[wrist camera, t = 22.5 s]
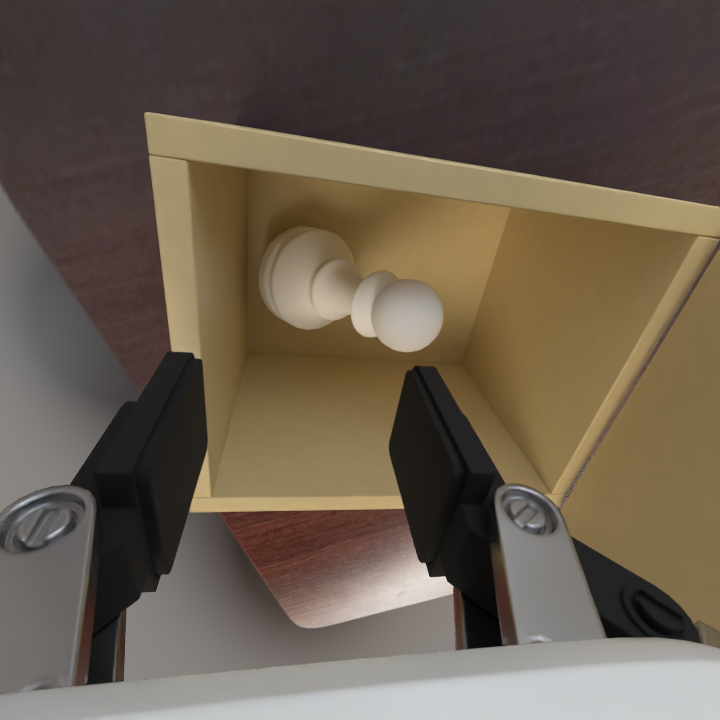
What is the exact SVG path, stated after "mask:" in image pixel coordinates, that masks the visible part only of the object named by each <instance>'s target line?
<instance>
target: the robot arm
mask: <svg viewBox="0 0 720 720" xmlns="http://www.w3.org/2000/svg"><path fill="white" fill-rule="evenodd" d="M207 446H208V434H207V419H206V405H205V391H204V377H203V364H202V359H197V358H195V357H194V354H193V353H191V352H173V351H168V352H167V354H166V355H165V357H164V358H163V360H162V362H161V363H160V365H159V367H158V368H157V370H156V371H155V373H154V375H153V376H152V378H151V380H150V381H149V383H148V384H147V386H146V388H145V389H144V391H143V393H142V394H141V396H140V397H139V399H138V401H137V402H132V401H128V402H126V403H124V404H123V406H122V407H121V408H120V410H119V411H118V413H117V414H116V416H115V417H114V419H113V420H112V422H111V424H110V425H109V426H108V428H107V429H106V431H105V432H104V434H103V435H102V437H101V438H100V440H99V441H98V443H97V444H96V446H95V447H94V449H93V450H92V452H91V453H90V455H89V457H88V458H87V460H86V461H85V463H84V464H83V466H82V467H81V469H80V470H79V472H78V473H77V475H76V476H75V478H74V479H73V481H72V482H71V484H70V485H63V486H52V487H48V488H45V489H41V490H38V491H35V492H33V493H30V494H28V495H26V496H24V497H22V498H20V499H18V500H17V501H15V502H14V503H12V504H11V505H9V506H8V507H6V508H5V509H4V510H2V512H1V513H0V720H720V631H718V630H716V629H714V628H712V627H711V626H709V625H707V624H705V623H703V622H701V621H700V620H698V621H697V622H696V623H695V624H693V622H692V620H691V619H690V617H689V616H688V615H687V614H686V612H685V611H684V610H683V609H682V607H681V606H680V605H679V604H678V603H677V602H675V601H674V600H673V599H672V598H671V597H670V596H669V595H668V594H666V593H665V592H663V591H662V590H661V589H659V588H658V587H656V586H655V585H653V584H651V583H650V582H648V581H646V580H645V579H643V578H641V577H640V576H638V575H636V574H634V573H633V572H631V571H629V570H628V569H626V568H624V567H623V566H621V565H619V564H617V563H616V562H614V561H612V560H611V559H609V558H607V557H606V556H604V555H602V554H600V553H599V552H597V551H595V550H594V549H592V548H590V547H589V546H587V545H585V544H584V543H582V542H580V541H578V540H577V539H575V538H573V537H572V536H571V535H570V533H569V530H568V527H567V524H566V521H565V519H564V517H563V515H562V513H561V511H560V509H559V508H558V507H557V506H556V505H555V504H554V502H553V501H552V500H550V499H549V498H548V497H547V496H545V495H544V494H543V493H541V492H539V491H537V490H536V489H534V488H532V487H529V486H526V485H523V484H516V483H510V484H506V483H505V482H504V480H503V478H502V476H501V475H500V473H499V471H498V470H497V468H496V466H495V465H494V463H493V461H492V459H491V458H490V456H489V454H488V453H487V451H486V449H485V448H484V446H483V444H482V442H481V441H480V439H479V437H478V436H477V434H476V432H475V430H474V429H473V427H472V425H471V424H470V422H469V420H468V419H467V417H466V416H465V415H464V414H463V413H462V412H461V410H460V408H459V406H458V405H457V403H456V401H455V400H454V398H453V396H452V394H451V393H450V391H449V389H448V387H447V386H446V384H445V382H444V381H443V379H442V377H441V375H440V374H439V372H438V370H437V369H436V367H434V366H417V365H415V366H414V367H413V369H412V370H408V371H407V372H406V374H405V378H404V383H403V387H402V391H401V395H400V399H399V403H398V407H397V412H396V416H395V420H394V424H393V428H392V432H391V436H390V441H389V455H390V459H391V462H392V466H393V470H394V473H395V477H396V480H397V484H398V488H399V491H400V495H401V498H402V502H403V506H404V509H405V513H406V517H407V520H408V524H409V527H410V531H411V535H412V538H413V542H414V546H415V549H416V553H417V556H418V559H419V561H420V562H421V563H426V566H427V569H428V573H429V576H430V577H441V576H446V579H447V581H448V582H449V583H450V584H451V585H453V586H454V587H453V595H454V620H455V645H456V650H453V651H442V652H430V653H419V654H408V655H397V656H386V657H375V658H365V659H355V660H354V659H353V660H342V661H332V662H321V663H310V664H300V665H289V666H278V667H268V668H257V669H246V670H235V671H225V672H215V673H205V674H194V675H184V676H174V677H164V678H154V679H144V680H133V681H124V657H125V631H126V608H127V607H129V606H130V605H132V604H133V603H134V602H136V601H137V600H138V599H139V598H140V595H141V593H142V592H156V589H157V586H158V583H159V580H160V576H161V575H163V574H169V573H170V571H171V569H172V566H173V563H174V559H175V556H176V552H177V549H178V546H179V543H180V539H181V536H182V533H183V529H184V526H185V523H186V519H187V516H188V512H189V509H190V506H191V502H192V499H193V496H194V492H195V489H196V486H197V482H198V479H199V475H200V472H201V469H202V465H203V462H204V459H205V455H206V452H207Z"/></svg>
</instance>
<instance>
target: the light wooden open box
mask: <svg viewBox="0 0 720 720" xmlns="http://www.w3.org/2000/svg"><path fill="white" fill-rule="evenodd" d="M144 117H145V125H146V134H147V143H148V151H149V154H151V155H150V156H149V161H150V170H151V178H152V187H153V195H154V204H155V213H156V221H157V230H158V239H159V247H160V256H161V265H162V273H163V282H164V291H165V299H166V308H167V317H168V325H169V334H170V343H171V351H173V352H191V353H193V354H194V357H195V358H197V359H202V364H203V377H204V391H205V405H206V419H207V434H208V446H207V452H206V455H205V459H204V462H203V465H202V469H201V472H200V475H199V479H198V482H197V486H196V489H195V492H194V496H193V499H192V502H191V506H190V512H235V511H294V510H354V509H404V506H403V502H402V498H401V495H400V491H399V488H398V484H397V480H396V477H395V473H394V470H393V466H392V462H391V459H390V455H389V441H390V436H391V432H392V428H393V424H394V420H395V416H396V412H397V407H398V403H399V399H400V395H401V391H402V387H403V383H404V378H405V374H406V372H407V371H408V370H412V369H413V367H414V366H415V365H417V366H434V367H436V369H437V370H438V372H439V374H440V375H441V377H442V379H443V381H444V382H445V384H446V386H447V387H448V389H449V391H450V393H451V394H452V396H453V398H454V400H455V401H456V403H457V405H458V406H459V408H460V410H461V412H462V413H463V414H464V415H465V416H466V417H467V419H468V420H469V422H470V424H471V425H472V427H473V429H474V430H475V432H476V434H477V436H478V437H479V439H480V441H481V442H482V444H483V446H484V448H485V449H486V451H487V453H488V454H489V456H490V458H491V459H492V461H493V463H494V465H495V466H496V468H497V470H498V471H499V473H500V475H501V476H502V478H503V480H504V482H505V483H506V484H510V483H516V484H523V485H526V486H529V487H532V488H534V489H536V490H537V491H539V492H541V493H543V494H544V495H545V496H547V497H548V498H549V499H550V500H552V501H553V502H554V504H555V505H556V506H560V505H561V503H562V502H563V500H564V498H565V497H566V495H567V494H566V493H568V491H569V490H570V488H571V486H572V485H573V483H574V481H575V480H576V478H577V476H578V475H579V473H580V471H581V470H582V468H583V466H584V465H585V463H586V461H587V460H588V458H589V456H590V455H591V453H592V451H593V450H594V448H595V446H596V445H597V443H598V441H599V440H600V438H601V436H602V435H603V433H604V431H605V430H606V428H607V426H608V425H609V423H610V422H611V420H612V418H613V417H614V415H615V413H616V412H617V410H618V408H619V407H620V405H621V403H622V402H623V400H624V398H625V397H626V395H627V393H628V392H629V390H630V388H631V387H632V385H633V383H634V382H635V380H636V378H637V377H638V375H639V373H640V372H641V370H642V368H643V367H644V365H645V363H646V362H647V360H648V358H649V357H650V355H651V353H652V352H653V350H654V348H655V347H656V345H657V343H658V342H659V340H660V338H661V337H662V335H663V333H664V332H665V330H666V328H667V327H668V325H669V323H670V322H671V320H672V318H673V317H674V315H675V313H676V312H677V310H678V308H679V307H680V305H681V304H682V302H683V300H684V299H685V297H686V295H687V294H688V292H689V290H690V289H691V287H692V285H693V284H694V282H695V280H696V279H697V277H698V275H699V274H700V272H701V270H702V269H703V267H704V265H705V264H706V262H707V260H708V259H709V257H710V255H711V254H712V252H713V250H714V249H715V247H716V245H717V244H718V242H719V239H718V238H720V207H716V206H711V205H705V204H699V203H693V202H688V201H682V200H676V199H670V198H664V197H659V196H653V195H647V194H641V193H636V192H630V191H624V190H618V189H612V188H607V187H601V186H595V185H589V184H584V183H578V182H572V181H566V180H560V179H555V178H549V177H543V176H537V175H532V174H526V173H520V172H514V171H508V170H502V169H496V168H490V167H484V166H478V165H472V164H466V163H460V162H454V161H448V160H442V159H436V158H430V157H424V156H418V155H412V154H406V153H400V152H394V151H388V150H382V149H376V148H370V147H364V146H358V145H352V144H346V143H340V142H334V141H328V140H322V139H316V138H310V137H304V136H298V135H292V134H286V133H280V132H274V131H268V130H262V129H256V128H250V127H244V126H238V125H232V124H225V123H218V122H211V121H205V120H198V119H191V118H184V117H177V116H170V115H164V114H157V113H150V112H145V114H144ZM298 226H307V227H315V228H318V229H325V230H328V231H330V232H332V233H335V234H337V235H338V236H339V237H340V238H341V239H342V240H343V241H345V243H346V244H347V246H348V247H349V249H350V251H351V252H352V255H353V259H354V262H355V264H356V265H357V267H358V269H359V270H360V273H361V276H362V278H363V279H365V278H366V277H367V276H368V275H370V274H371V273H373V272H376V271H379V270H386V271H389V272H391V273H393V274H394V275H395V276H396V277H397V278H398V280H400V279H415V280H419V281H421V282H424V283H426V284H428V285H429V286H430V287H431V288H432V289H433V290H434V291H435V292H436V293H437V294H438V295H439V297H440V300H441V302H442V305H443V310H444V319H443V324H442V327H441V330H440V332H439V334H438V335H437V337H436V338H435V339H434V340H433V341H432V342H431V343H430V344H429V345H428V346H426V347H424V348H423V349H421V350H418V351H413V352H401V351H396V350H393V349H391V348H389V347H388V346H386V345H385V344H383V343H382V342H381V341H380V340H379V338H378V337H371V338H370V337H365V336H363V335H361V334H359V333H358V332H357V330H356V329H355V328H354V325H353V323H352V320H351V315H350V314H348V315H347V316H346V317H344V318H341V319H339V320H334V321H333V322H331V323H330V324H328V325H326V326H323V327H321V328H319V329H311V330H306V329H301V328H296V327H295V326H293V325H291V324H289V323H287V322H286V321H284V320H282V319H280V318H278V317H277V316H275V315H274V314H273V313H272V312H271V311H270V310H269V309H268V308H267V306H266V304H265V302H264V300H263V299H262V297H261V293H260V288H259V284H258V280H259V267H260V263H261V260H262V256H263V255H264V253H265V251H266V249H267V247H268V245H269V244H270V243H271V242H272V241H273V240H274V239H275V238H276V237H277V236H278V235H279V234H281V233H283V232H284V231H286V230H288V229H290V228H294V227H298Z"/></svg>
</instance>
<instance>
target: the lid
mask: <svg viewBox="0 0 720 720" xmlns="http://www.w3.org/2000/svg"><path fill="white" fill-rule="evenodd" d="M560 511H561V513H562V515H563V517H564V519H565V521H566V524H567V527H568V530H569V533H570V535H571V536H572V537H573V538H575V539H577V540H578V541H580V542H582V543H584V544H585V545H587V546H589V547H590V548H592V549H594V550H595V551H597V552H599V553H600V554H602V555H604V556H606V557H607V558H609V559H611V560H612V561H614V562H616V563H617V564H619V565H621V566H623V567H624V568H626V569H628V570H629V571H631V572H633V573H634V574H636V575H638V576H640V577H641V578H643V579H645V580H646V581H648V582H650V583H651V584H653V585H655V586H656V587H658V588H659V589H661V590H662V591H663V592H665V593H666V594H668V595H669V596H670V597H671V598H672V599H673V600H674V601H675V602H677V603H678V604H679V605H680V606H681V607H682V609H683V610H684V611H685V612H686V614H687V615H688V616H689V617H690V619H691V620H692V622H693V624H695V623H696V622H697V621H698V620H700V621H701V622H703V623H705V624H707V625H709V626H711V627H712V628H714V629H716V630H718V631H720V249H719V250H718V252H717V253H716V255H715V257H714V258H713V260H712V262H711V263H710V265H709V267H708V268H707V270H706V272H705V273H704V275H703V276H702V278H701V280H700V281H699V283H698V285H697V286H696V288H695V290H694V291H693V293H692V295H691V296H690V298H689V299H688V301H687V303H686V304H685V306H684V308H683V309H682V311H681V313H680V314H679V316H678V318H677V319H676V321H675V323H674V324H673V326H672V327H671V329H670V331H669V332H668V334H667V336H666V337H665V339H664V341H663V342H662V344H661V346H660V347H659V349H658V350H657V352H656V354H655V355H654V357H653V359H652V360H651V362H650V364H649V365H648V367H647V369H646V370H645V372H644V373H643V375H642V377H641V378H640V380H639V382H638V383H637V385H636V387H635V388H634V390H633V392H632V393H631V395H630V397H629V398H628V400H627V401H626V403H625V405H624V406H623V408H622V410H621V411H620V413H619V415H618V416H617V418H616V420H615V421H614V423H613V424H612V426H611V428H610V429H609V431H608V433H607V434H606V436H605V438H604V439H603V441H602V443H601V444H600V446H599V448H598V449H597V451H596V452H595V454H594V456H593V457H592V459H591V461H590V462H589V464H588V466H587V467H586V469H585V471H584V472H583V474H582V475H581V477H580V479H579V480H578V482H577V484H576V485H575V487H574V489H573V490H572V492H571V494H570V495H569V497H568V498H567V500H566V502H565V503H564V505H563V507H562V508H561V510H560Z"/></svg>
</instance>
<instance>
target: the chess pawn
mask: <svg viewBox="0 0 720 720" xmlns="http://www.w3.org/2000/svg"><path fill="white" fill-rule="evenodd" d="M258 284H259V288H260V293H261V297H262V299H263V300H264V302H265V304H266V306H267V308H268V309H269V310H270V311H271V312H272V313H273V314H274V315H275V316H277V317H278V318H280V319H282V320H284V321H286V322H287V323H289V324H291V325H293V326H295V327H296V328H301V329H306V330H311V329H319V328H321V327H323V326H326V325H328V324H330V323H331V322H333V321H334V320H339V319H341V318H344V317H346V316H347V315H348V314H350V315H351V320H352V323H353V325H354V328H355V329H356V330H357V332H358V333H359V334H361V335H363V336H365V337H370V338H371V337H378V338H379V340H380V341H381V342H382V343H383V344H385V345H386V346H388V347H389V348H391V349H393V350H396V351H401V352H413V351H418V350H421V349H423V348H424V347H426V346H428V345H429V344H430V343H431V342H432V341H433V340H434V339H435V338H436V337H437V335H438V334H439V332H440V330H441V327H442V324H443V319H444V310H443V305H442V302H441V300H440V297H439V295H438V294H437V293H436V292H435V291H434V290H433V289H432V288H431V287H430V286H429V285H428V284H426V283H424V282H421V281H419V280H415V279H400V280H398V278H397V277H396V276H395V275H394V274H393V273H391V272H389V271H386V270H379V271H376V272H373V273H371V274H370V275H368V276H367V277H366V278H365V279H363V278H362V276H361V273H360V270H359V269H358V267H357V265H356V264H355V262H354V259H353V255H352V252H351V251H350V249H349V247H348V246H347V244H346V243H345V241H343V240H342V239H341V238H340V237H339V236H338V235H337V234H335V233H332V232H330V231H328V230H325V229H318V228H315V227H307V226H298V227H294V228H290V229H288V230H286V231H284V232H283V233H281V234H279V235H278V236H277V237H276V238H275V239H274V240H273V241H272V242H271V243H270V244H269V245H268V247H267V249H266V251H265V253H264V255H263V256H262V260H261V263H260V267H259V280H258Z"/></svg>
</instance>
